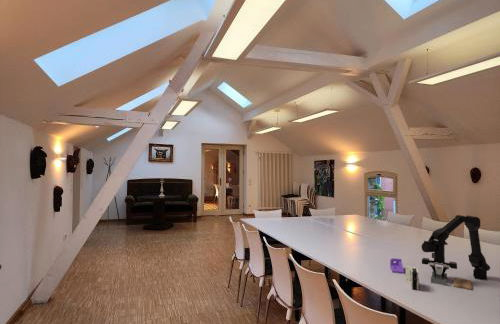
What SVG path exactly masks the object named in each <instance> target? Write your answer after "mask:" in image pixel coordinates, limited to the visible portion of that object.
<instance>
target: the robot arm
mask: <svg viewBox="0 0 500 324" xmlns="http://www.w3.org/2000/svg"><path fill="white" fill-rule="evenodd" d="M463 223H464V226H465V227H466V229H467V230H468V233H469V234H468V236H469V242H470V248H471V249H470V250H471V253H470V254H468V261H469V263H470V265H471V267H473V268H474V269H472V271H473V273H472V274H473V278H474V279H476V280H482V281H488V271H490V270H491V267H490V265H489V264H488V263H487V260H486V257H485V256H484V255H483V253H482V249H481V241H480V234H479V229H480V228H481V219H480V218H479V217H478V216H474V215H466V216H465V215H460V214H456V215H455V216H454V218H453V219H451V220H450V221H449V222H448V223H446V225H444V226H443V227H440V228H437V229H435V230H433V232H432V233H431V235H430V237H429V238H428V240H424V241H423V242H422V244H421V246H420V247H421V251H422V252H423V253H431V258H432V259H433V260H432V259H430V258H429V257H422V259H421V264H422V265H429V267H431V269H432V271H434V274H435V276H436V267H437V266H436V265H440V266H442V279H443V276H444V273H446V272H447V270H450V269H454V270H457V269H458V263H457V262H456V261H449V262H446V258H445V257H446V256H445V248H446V247H445V246H447V245H449V244H448V242H447V241H446V240H447V239H448V238H449V237H450V234H451V233H452V232H453V231H455V230H456V229H457V228H458V227H459V226H461V224H463Z"/></svg>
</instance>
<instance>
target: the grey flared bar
mask: <svg viewBox="0 0 500 324" xmlns="http://www.w3.org/2000/svg"><path fill="white" fill-rule="evenodd" d="M435 267H436V278H441V279H443V278H442V271H443V266H435Z"/></svg>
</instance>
